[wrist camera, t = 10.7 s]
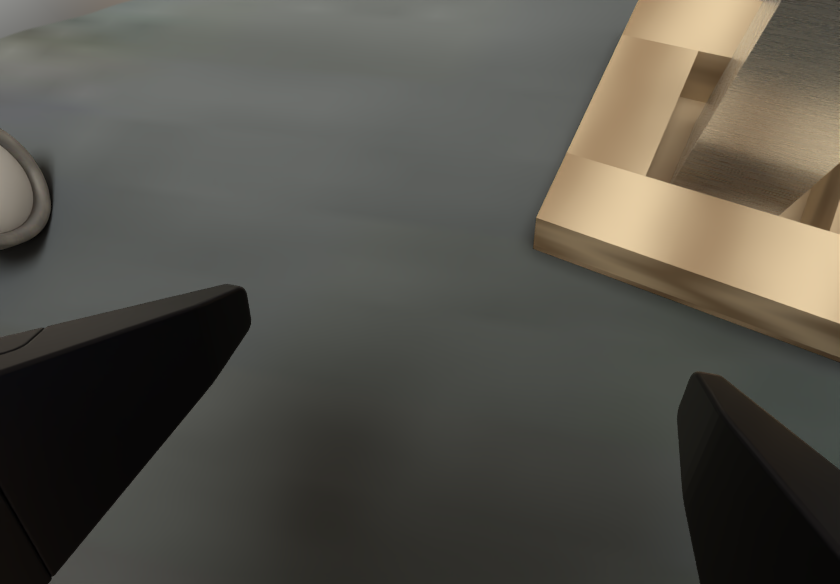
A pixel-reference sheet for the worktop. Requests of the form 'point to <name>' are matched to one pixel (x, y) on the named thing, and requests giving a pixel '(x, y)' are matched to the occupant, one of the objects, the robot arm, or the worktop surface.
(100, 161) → the worktop surface
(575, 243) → the socket block
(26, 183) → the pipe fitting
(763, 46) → the grey rectangular block
